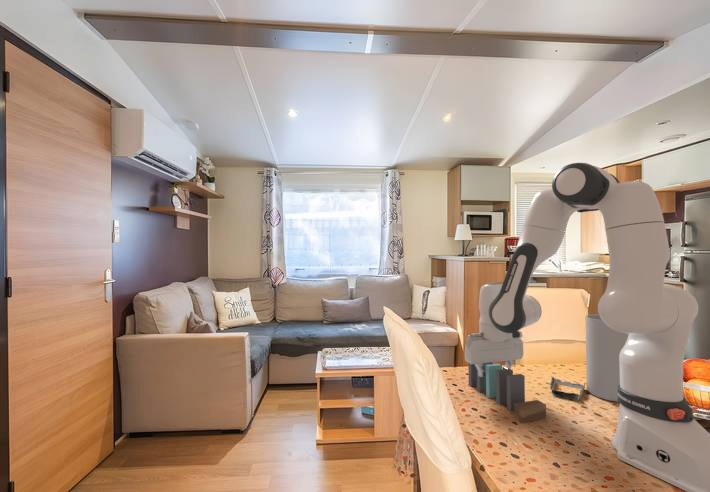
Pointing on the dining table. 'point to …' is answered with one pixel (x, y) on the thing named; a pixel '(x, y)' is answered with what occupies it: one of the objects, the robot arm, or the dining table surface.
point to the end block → (530, 411)
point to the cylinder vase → (603, 358)
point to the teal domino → (491, 379)
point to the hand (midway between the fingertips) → (494, 374)
